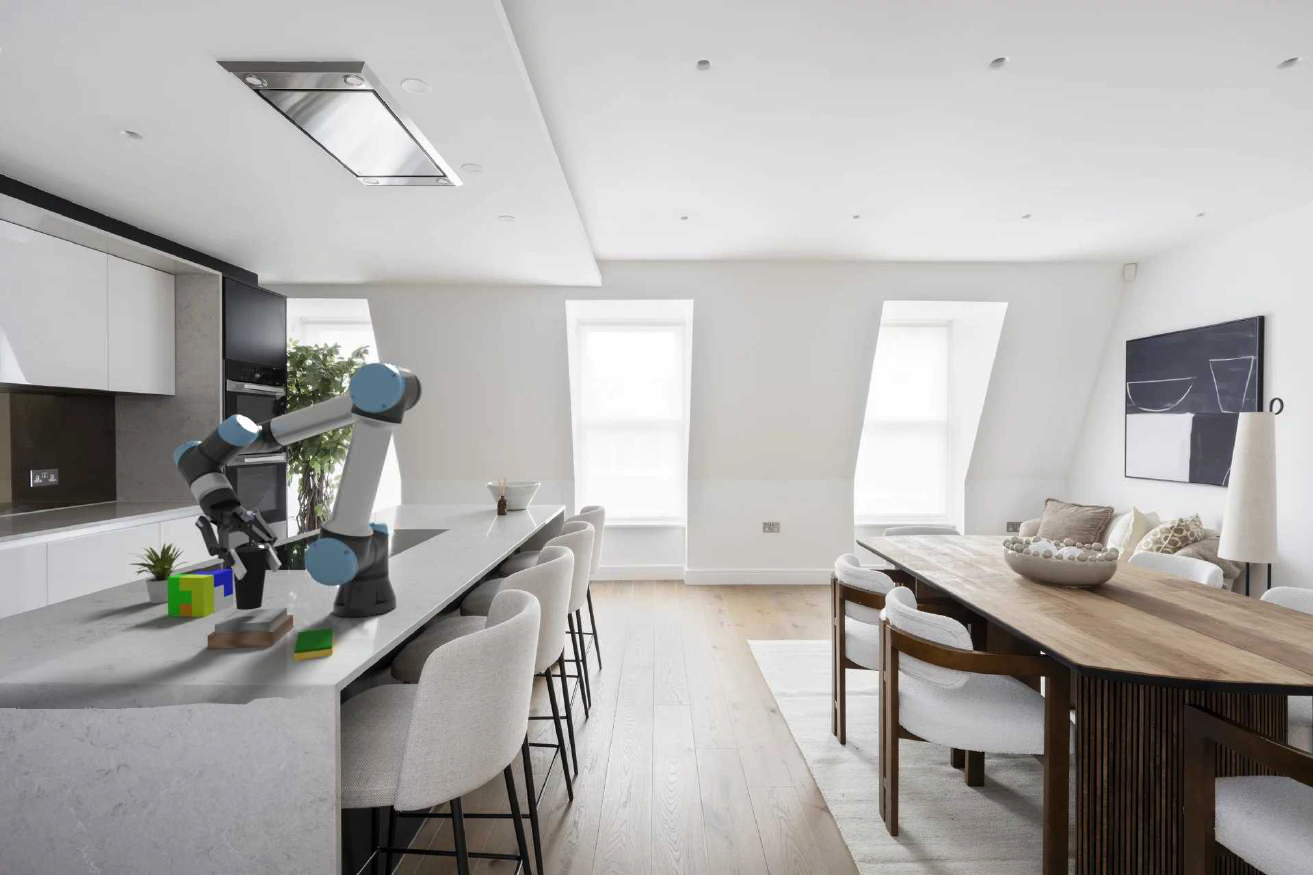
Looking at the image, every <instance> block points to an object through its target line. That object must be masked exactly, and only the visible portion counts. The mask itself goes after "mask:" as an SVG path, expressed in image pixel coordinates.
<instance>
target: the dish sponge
mask: <svg viewBox="0 0 1313 875" xmlns="http://www.w3.org/2000/svg"><path fill="white" fill-rule="evenodd" d="M293 653H294V655H293V656H294V661H300V660H307V659H315V658H322V656H323V657H330V656H332V654H334V628H333V627H330V628H322V629H314V630H313V629H312V630H303V631H299V632H297V636H296V641H295V645H294V652H293Z"/></svg>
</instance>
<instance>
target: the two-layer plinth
mask: <svg viewBox="0 0 1313 875" xmlns="http://www.w3.org/2000/svg"><path fill="white" fill-rule="evenodd" d="M293 628H294V614H288V608H287V607H281V608H280V607H278V608H265V609H262V608H261V609H259V608H258V609H250V610H235V611H234V612H232V613H230V614H229V615H227V616H226V617H224V618H222V619H221V620H220V621H218V622H217V623H215V624H214V631H212V632H211V633H209V634H208V635H207V650H217V649H219V650H220V649H235V648H252V647H253V648H254V647H264V646H265V647H266V646H274V645H275V644H277V643H278V641H279V640H281V639H282V638H283V637H284V636H286V634H288V633H289V631H291V630H292V629H293Z"/></svg>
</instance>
